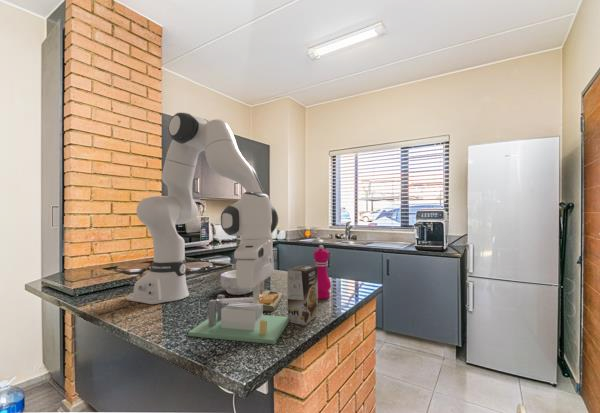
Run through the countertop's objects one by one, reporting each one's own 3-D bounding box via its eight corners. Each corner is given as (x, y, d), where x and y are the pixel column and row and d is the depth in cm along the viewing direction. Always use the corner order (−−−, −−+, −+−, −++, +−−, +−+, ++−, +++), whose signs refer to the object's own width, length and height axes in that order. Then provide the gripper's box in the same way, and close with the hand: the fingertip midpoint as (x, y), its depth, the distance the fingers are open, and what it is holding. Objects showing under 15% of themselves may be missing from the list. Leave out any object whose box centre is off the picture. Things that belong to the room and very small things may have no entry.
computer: (274, 313, 95) (274, 302, 95) (250, 312, 96) (250, 302, 97) (283, 298, 111) (283, 290, 111) (262, 298, 112) (262, 289, 112)
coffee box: (306, 326, 84) (305, 271, 84) (286, 322, 87) (286, 269, 87) (318, 316, 92) (318, 265, 92) (301, 313, 95) (300, 264, 95)
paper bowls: (213, 292, 118) (213, 273, 118) (242, 285, 130) (242, 267, 130) (236, 300, 108) (236, 278, 108) (266, 291, 120) (265, 272, 120)
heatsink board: (188, 335, 77) (188, 305, 77) (217, 314, 93) (217, 289, 93) (274, 344, 72) (274, 311, 72) (290, 320, 88) (290, 293, 88)
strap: (210, 306, 82) (210, 301, 82) (219, 300, 87) (218, 296, 87) (273, 303, 78) (272, 298, 78) (278, 297, 83) (278, 293, 83)
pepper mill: (309, 298, 110) (309, 245, 110) (315, 293, 116) (315, 243, 117) (327, 300, 107) (327, 246, 107) (333, 295, 114) (332, 244, 114)
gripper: (259, 244, 93) (260, 288, 92) (231, 253, 73) (232, 308, 72) (278, 244, 91) (279, 288, 91) (254, 253, 71) (256, 309, 71)
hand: (258, 297), depth 81 cm, fingers closed, pressing on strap
